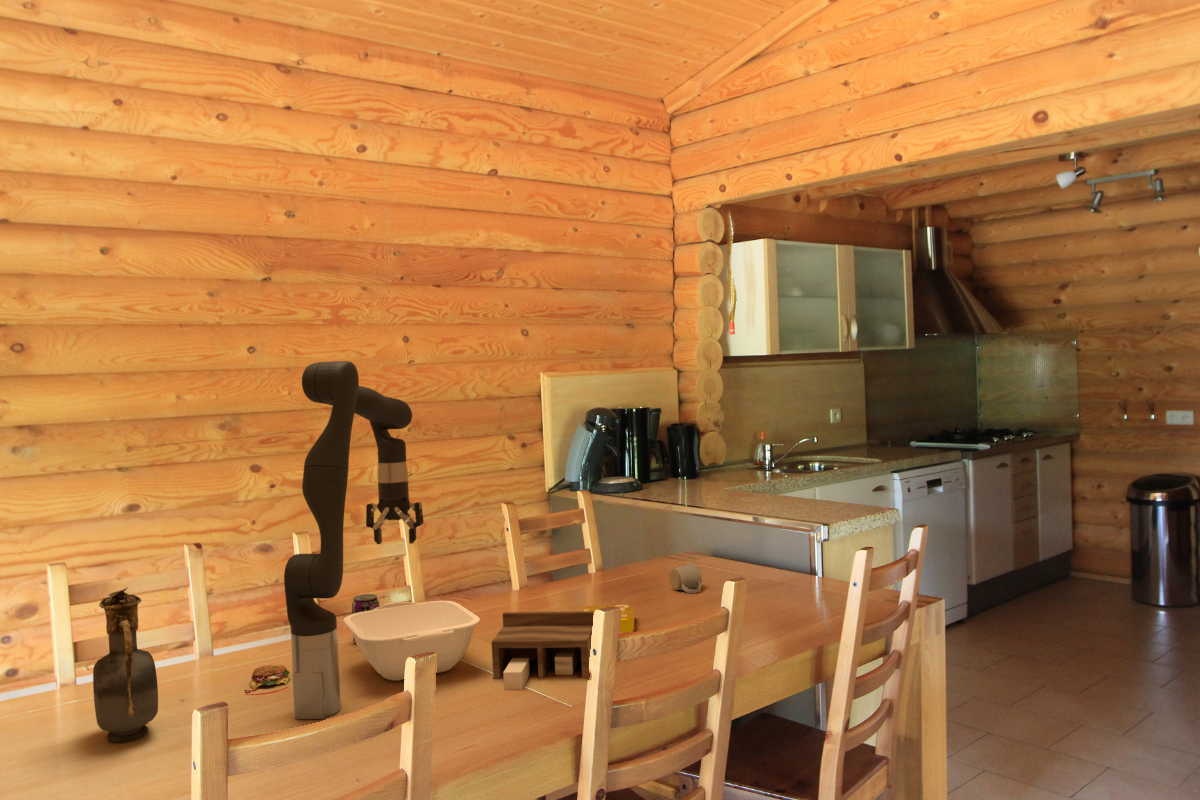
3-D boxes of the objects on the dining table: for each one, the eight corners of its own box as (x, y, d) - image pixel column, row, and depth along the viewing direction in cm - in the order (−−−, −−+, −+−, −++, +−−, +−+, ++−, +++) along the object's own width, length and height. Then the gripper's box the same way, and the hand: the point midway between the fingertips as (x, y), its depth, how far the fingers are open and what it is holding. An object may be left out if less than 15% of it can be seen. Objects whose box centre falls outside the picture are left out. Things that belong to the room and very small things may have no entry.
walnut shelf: (588, 678, 202) (586, 627, 202) (493, 678, 204) (491, 628, 204) (595, 658, 216) (593, 611, 216) (505, 659, 218) (503, 612, 218)
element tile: (581, 621, 252) (580, 604, 252) (634, 619, 251) (633, 602, 251) (577, 636, 237) (576, 618, 237) (634, 635, 236) (633, 616, 236)
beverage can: (373, 645, 234) (371, 600, 234) (348, 645, 236) (346, 600, 235) (385, 637, 241) (383, 593, 241) (361, 637, 243) (359, 593, 242)
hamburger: (233, 682, 211) (232, 657, 211) (296, 673, 216) (294, 648, 216) (231, 701, 198) (230, 674, 198) (298, 690, 203) (296, 664, 203)
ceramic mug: (668, 588, 284) (667, 564, 284) (690, 585, 287) (689, 561, 287) (685, 596, 274) (684, 571, 274) (707, 592, 278) (707, 568, 277)
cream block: (522, 690, 197) (521, 672, 197) (504, 690, 197) (503, 672, 197) (529, 675, 207) (529, 657, 206) (512, 675, 207) (512, 658, 207)
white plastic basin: (494, 678, 205) (491, 623, 204) (369, 703, 192) (366, 644, 192) (449, 642, 235) (447, 594, 235) (338, 661, 222) (336, 610, 222)
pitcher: (153, 717, 188) (145, 576, 188) (165, 746, 172) (157, 592, 172) (93, 730, 182) (85, 584, 182) (101, 761, 166) (92, 601, 166)
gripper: (360, 482, 225) (363, 546, 225) (416, 480, 223) (418, 545, 224) (370, 479, 232) (373, 541, 232) (424, 477, 231) (427, 540, 231)
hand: (395, 543), depth 228 cm, fingers open, 8 cm apart
